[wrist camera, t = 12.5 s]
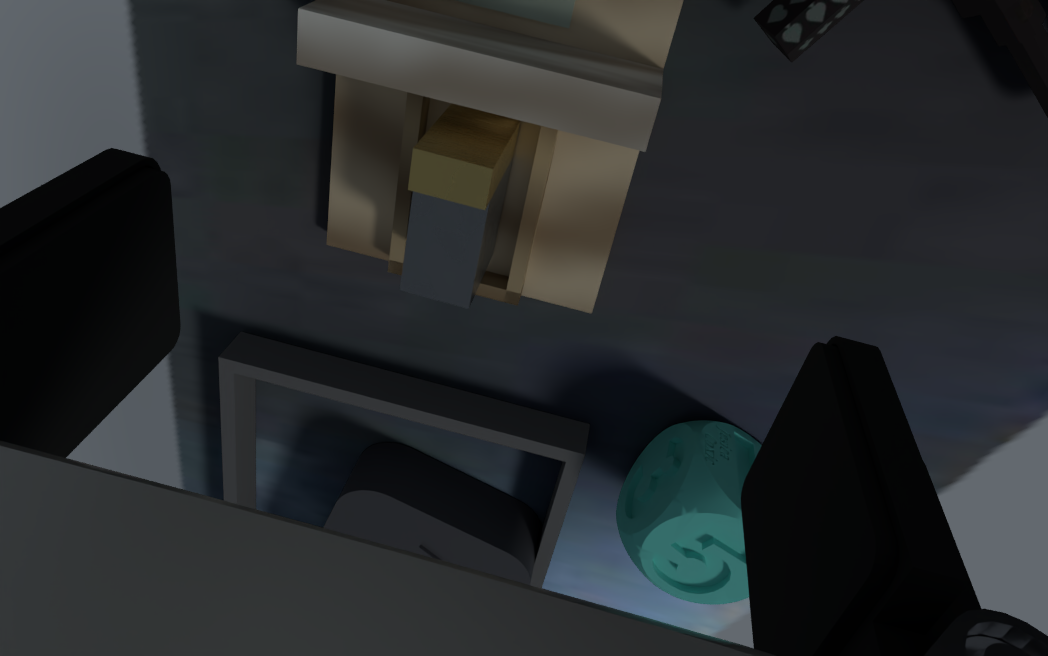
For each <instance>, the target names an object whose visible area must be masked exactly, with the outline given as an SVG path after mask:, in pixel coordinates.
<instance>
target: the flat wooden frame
mask: <svg viewBox="0 0 1048 656" xmlns="http://www.w3.org/2000/svg"><path fill="white" fill-rule="evenodd" d="M682 3H683V0H316V1H313V2H311V3H309V4H307V5H304V6H302V7H300V8H298V34H297V64H298V65H302V66H306V67H310V68H314V69H318V70H322V71H326V72H330V73H334V74H336V87H335V105H334V123H333V141H332V159H331V177H330V195H329V213H328V231H327V245H330V246H334V247H338V248H342V249H345V250H349V251H353V252H357V253H361V254H365V255H369V256H372V257H376V258H380V259H384V260H388V261H389V265H388V272H391V273H395V274H399V275H402V270H403V262H404V255H405V247H406V240H407V232H408V224H409V217H410V209H411V202H412V194H413V191H410V190H408V184H409V176H410V168H411V161H412V153H413V148H414V146H415V145H416V144H417V143H418V142H419V141H420V139H421V138H422V137H423V136H424V135H425V134H426V132H427V131H428V130H429V129H430V128H431V127H432V125H433V124H434V123H435V122H436V121H437V120H438V118H439V117H440V116H441V115H442V114H443V113H444V111H445V110H446V109H447V108H448V107H449V106H450V105H451V103H453V104H457V105H461V106H465V107H469V108H473V109H477V110H481V111H484V112H488V113H492V114H496V115H500V116H504V117H508V118H512V119H516V120H520V121H521V122H520V127H519V132H518V136H517V141H516V146H515V151H514V156H513V161H512V165H511V170H510V175H509V180H508V185H507V190H506V194H505V199H504V204H503V209H502V214H501V219H500V223H499V228H498V233H497V238H496V243H495V248H494V252H493V256H492V258H491V260H490V263H489V265H488V267H487V269H486V272H485V274H484V276H483V278H482V281H481V283H480V285H479V287H478V289H477V292H476V294H475V295H479V296H483V297H487V298H491V299H495V300H498V301H502V302H506V303H510V304H514V305H518V303H519V300H520V297H521V295H522V296H526V297H530V298H534V299H538V300H542V301H545V302H549V303H553V304H557V305H561V306H565V307H569V308H572V309H576V310H580V311H584V312H588V313H592V310H593V307H594V304H595V300H596V297H597V293H598V290H599V286H600V283H601V280H602V276H603V273H604V269H605V266H606V263H607V259H608V256H609V252H610V249H611V246H612V242H613V239H614V235H615V232H616V229H617V225H618V222H619V218H620V215H621V211H622V208H623V205H624V201H625V198H626V194H627V191H628V188H629V184H630V181H631V177H632V174H633V171H634V167H635V164H636V160H637V157H638V153H639V151H643V152H645V151H646V148H647V144H648V141H649V138H650V134H651V131H652V127H653V124H654V121H655V117H656V114H657V111H658V107H659V104H660V101H661V93H662V79H663V68H664V65H665V61H666V58H667V55H668V51H669V48H670V44H671V41H672V37H673V34H674V31H675V27H676V24H677V20H678V17H679V14H680V10H681V7H682Z"/></svg>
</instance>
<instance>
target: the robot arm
mask: <svg viewBox="0 0 1048 656" xmlns="http://www.w3.org/2000/svg"><path fill="white" fill-rule="evenodd" d="M179 334H180V311H179V297H178V282H177V268H176V254H175V239H174V225H173V211H172V197H171V184H170V179H169V177H168V175H167V174H166V173H165V172H163V171H161V170H160V167H159V165H158V163H157V162H156V161H155V160H154V159H153V158H149V157H145V156H142V155H138V154H134V153H130V152H126V151H122V150H118V149H113V148H111V149H107V150H105V151H103V152H101V153H99V154H98V155H96V156H94V157H92V158H90V159H89V160H87V161H85V162H83V163H81V164H80V165H78V166H76V167H74V168H72V169H70V170H69V171H67V172H65V173H63V174H61V175H60V176H58V177H56V178H54V179H52V180H51V181H49V182H47V183H45V184H43V185H41V186H40V187H38V188H36V189H34V190H32V191H31V192H29V193H27V194H25V195H24V196H22V197H20V198H18V199H16V200H14V201H12V202H11V203H9V204H7V205H5V206H3V207H2V208H0V656H1048V636H1047V635H1045V634H1044V633H1042V632H1041V631H1039V630H1037V629H1036V628H1034V627H1033V626H1031V625H1030V624H1028V623H1026V622H1024V621H1022V620H1020V619H1017V618H1015V617H1012V616H1010V615H1008V614H1006V613H1002V612H997V611H993V610H987V609H981V607H980V604H979V602H978V599H977V597H976V594H975V591H974V589H973V586H972V584H971V581H970V578H969V576H968V573H967V571H966V568H965V566H964V563H963V560H962V558H961V556H960V553H959V550H958V548H957V546H956V543H955V540H954V538H953V535H952V532H951V530H950V527H949V524H948V522H947V519H946V517H945V514H944V512H943V509H942V506H941V504H940V501H939V499H938V496H937V494H936V491H935V488H934V486H933V483H932V481H931V478H930V476H929V473H928V470H927V468H926V465H925V463H924V462H923V460H922V457H921V455H920V452H919V450H918V447H917V444H916V442H915V439H914V437H913V434H912V431H911V429H910V426H909V424H908V421H907V419H906V416H905V413H904V411H903V408H902V406H901V403H900V400H899V398H898V395H897V393H896V390H895V388H894V385H893V382H892V380H891V377H890V375H889V372H888V369H887V367H886V364H885V362H884V359H883V357H882V354H881V351H880V350H879V348H878V347H876V346H873V345H869V344H865V343H861V342H857V341H853V340H849V339H846V338H842V337H838V336H835V337H833V338H831V339H830V340H829V341H828V343H827V344H824V343H820V342H818V343H816V344H815V345H814V346H813V347H812V348H811V350H810V352H809V354H808V356H807V358H806V360H805V362H804V364H803V366H802V368H801V369H800V371H799V373H798V375H797V377H796V379H795V381H794V383H793V385H792V387H791V389H790V391H789V393H788V395H787V397H786V399H785V401H784V403H783V405H782V407H781V409H780V411H779V413H778V415H777V417H776V419H775V421H774V423H773V425H772V427H771V428H770V430H769V432H768V434H767V436H766V438H765V440H764V442H763V444H762V446H761V448H760V450H759V452H758V454H757V456H756V458H755V460H754V462H753V464H752V466H751V468H750V470H749V472H748V474H747V476H746V478H745V480H744V484H743V487H742V492H741V511H742V522H743V533H744V544H745V555H746V566H747V577H748V588H749V599H750V610H751V621H752V632H753V643H754V649H753V648H750V647H747V646H743V645H740V644H737V643H733V642H729V641H726V640H722V639H719V638H715V637H711V636H708V635H704V634H701V633H697V632H694V631H690V630H687V629H683V628H680V627H677V626H673V625H670V624H666V623H663V622H660V621H656V620H653V619H649V618H646V617H642V616H639V615H635V614H631V613H628V612H624V611H621V610H617V609H614V608H610V607H606V606H603V605H599V604H596V603H592V602H589V601H585V600H581V599H578V598H574V597H571V596H567V595H564V594H560V593H556V592H553V591H549V590H546V589H542V588H539V587H535V586H531V585H528V584H524V583H521V582H517V581H514V580H510V579H506V578H503V577H499V576H496V575H492V574H489V573H485V572H481V571H478V570H474V569H471V568H467V567H464V566H460V565H456V564H453V563H449V562H446V561H442V560H438V559H435V558H431V557H428V556H424V555H420V554H417V553H413V552H409V551H406V550H402V549H399V548H395V547H391V546H388V545H384V544H380V543H377V542H373V541H369V540H366V539H362V538H359V537H355V536H351V535H348V534H344V533H340V532H337V531H333V530H330V529H326V528H322V527H319V526H315V525H311V524H308V523H304V522H300V521H297V520H293V519H289V518H286V517H282V516H278V515H275V514H271V513H267V512H264V511H260V510H256V509H253V508H249V507H245V506H242V505H238V504H234V503H231V502H227V501H223V500H220V499H216V498H212V497H209V496H205V495H201V494H198V493H194V492H190V491H186V490H183V489H178V488H175V487H172V486H167V485H164V484H160V483H157V482H153V481H149V480H145V479H142V478H138V477H134V476H131V475H127V474H122V473H119V472H115V471H112V470H108V469H104V468H100V467H97V466H93V465H89V464H86V463H81V462H78V461H74V460H71V459H67V458H66V457H67V456H68V455H69V454H70V453H71V452H72V451H73V450H74V449H75V448H76V447H77V446H78V445H79V444H80V443H81V442H82V441H83V440H84V439H85V438H86V437H87V436H88V435H89V434H90V433H91V432H92V430H94V429H95V428H96V427H97V425H99V424H100V422H101V421H102V420H103V419H104V418H105V417H106V416H107V415H108V414H109V413H110V412H111V411H112V410H113V409H114V408H115V407H116V406H117V405H118V404H119V403H120V402H121V401H122V400H123V399H124V398H125V397H126V396H127V395H128V394H129V393H130V392H131V391H132V390H133V389H134V388H135V387H136V386H137V385H138V384H139V383H140V382H141V381H142V380H143V379H144V378H145V377H146V376H147V375H148V374H149V373H150V372H151V371H152V370H153V369H154V368H155V367H156V365H157V364H158V363H159V362H160V361H161V360H162V359H163V358H164V357H165V356H166V355H167V354H168V353H169V352H170V351H171V350H172V349H173V348H174V346H175V344H176V342H177V340H178V337H179Z"/></svg>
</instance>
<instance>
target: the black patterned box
mask: <svg viewBox="0 0 1048 656" xmlns="http://www.w3.org/2000/svg"><path fill="white" fill-rule="evenodd" d="M862 1H864V0H773V1H772V2H771V3H770V4H769V5H768V6H766V7H765V8H764V9H763V10H762V11H761V12H760V13H759V14H758V15H757V16H755V17H754V19H755V21H756V22H757V23H758V25H759V26H760V27H761V29H762V30H763V31H764V32H765V34H766V35H767V36H768V38H769V39H770V40H771V42H772V43H773V44H774V45H775V46H776V47H777V48H778V49H779V50H780V51H781V52H782V53H783V54H784V55H785V56H786V57H787V58H788V59H789V60H790V61H791V62H793V61H794V60H795V59H796V58H798V57H799V56H800V55H801V54H802V53H803V52H804V51H806V50H807V49H808V48H809V47H810V46H811V45H813V44H814V43H815V42H816V41H817V40H818V39H820V38H821V37H822V36H823V35H824V34H825V33H826V32H828V31H829V30H830V29H831V28H832V27H833V26H835V25H836V24H837V23H838V22H839V21H840V20H842V19H843V18H844V17H845V16H846V15H847V14H848V13H850V12H851V11H852V10H853V9H854V8H855V7H857V6H858V5H859V4H860V3H861V2H862ZM952 1H953V3H954V5H955V7H956V8H957V10H958V12H959V13H960V15H961V17H962V18H967V17H972V16H977V15H981V17H982V19H983V21H984V22H985V24H986V26H987V28H988V29H989V31H990V33H991V34H992V36H993V38H994V40H995V41H996V43H997V45H998V46H1005V45H1006V46H1007V48H1008V49H1009V51H1010V53H1011V55H1012V56H1013V58H1014V60H1015V61H1016V63H1017V65H1018V67H1019V68H1020V70H1021V72H1022V74H1023V75H1024V77H1025V79H1026V81H1027V82H1028V84H1029V86H1030V88H1031V89H1032V91H1033V93H1034V95H1035V96H1036V98H1037V100H1038V102H1039V103H1040V105H1041V107H1042V109H1043V110H1044V112H1045V114H1046V116H1047V117H1048V34H1047V32H1046V31H1045V29H1044V27H1043V25H1042V23H1043V21H1044V19H1045V17H1046V16H1047V15H1046V13H1045V11H1044V9H1043V7H1042V5H1041V4H1040V2H1039V0H952Z"/></svg>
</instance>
